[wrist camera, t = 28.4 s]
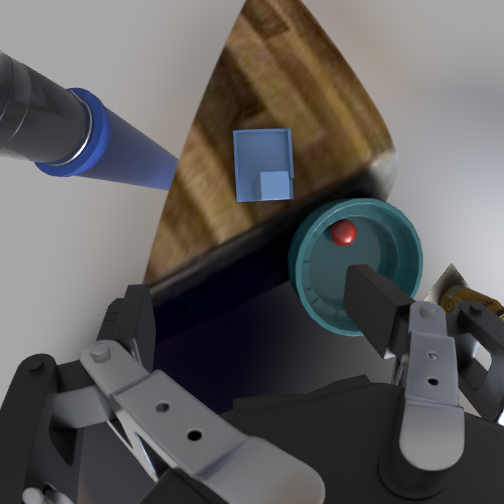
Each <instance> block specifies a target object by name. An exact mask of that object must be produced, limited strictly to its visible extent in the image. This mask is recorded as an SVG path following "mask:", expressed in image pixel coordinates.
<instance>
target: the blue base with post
mask: <svg viewBox="0 0 504 504" xmlns="http://www.w3.org/2000/svg"><path fill="white" fill-rule="evenodd" d="M233 139H234V159H235V178H236V196H237V202H246V201H265V200H288V199H294V196H293V178H294V171H293V154H292V139H291V129H252V130H233Z"/></svg>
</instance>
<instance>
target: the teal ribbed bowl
mask: <svg viewBox="0 0 504 504" xmlns="http://www.w3.org/2000/svg"><path fill="white" fill-rule="evenodd" d="M340 219H347V220H350V221H351V222H352V223H353V224H354V225H355V227H356V230H357V235H356V238H355V240H354V242H353V243H352V244H350V245H348V246H338V245H336V244H335V243H334V242H333V241H332V240H331V237H330V228H331V226H332V224H333V223H334V222H336V221H337V220H340ZM358 264H367V265H369V266H370V267H371V268H372V269H374V270H375V271H376V272H377V273H378V274H380V275H382V276H385V277H387V278H389V279H390V280H391V281H392V282H393V283H395V285H397V286H398V287H399V288H400V289H401V290H403V291H404V292H405V293H406V294H408V295H409V296H410V297H411V298H412V299H413V298H414V296H415V294H416V292H417V290H418V287H419V284H420V280H421V276H422V270H423V269H422V268H423V254H422V248H421V243H420V239H419V237H418V235H417V233H416V230H415V228H414V226H413V225H412V223H411V222H410V221H409V220H408V218H406V216H405V215H404V214H403V213H402V212H401V211H400V210H398V209H396V208H395V207H394V206H392V205H391V204H389V203H387V202H383V201H380V200H377V199H373V198H353V199H338V200H334V201H331V202H328V203H325V204H323V205H321V206H320V207H318V208H317V209H315V210H314V211H312V212H311V213H310V214H309V215H308V216H307V217H306V218H305V219H304V220H303V221H302V223H301V224H300V226H299V227H298V229H297V230H296V232H295V234H294V236H293V238H292V241H291V244H290V249H289V253H288V273H289V278H290V281H291V284H292V287H293V290H294V291H295V293H296V295H297V296H298V298H299V299H300V301H301V303H302V304H303V306H304V307H305V309H306V310H307V312H308V313H309V315H310V316H311V317H312V318H313V319H314V320H315V321H316V322H318V323H319V324H320V325H321V326H322V327H323V328H326V329H328V330H330V331H332V332H334V333H337V334H342V335H349V336H358V335H363V333H362V332H361V331H360V330H359V328H358V327H357V326H356V325H355V323H354V322H353V321H352V320H351V318H350V317H349V316H348V315H347V314H346V312H345V310H344V305H343V297H344V289H345V281H346V272H347V268H348V267H349V266H350V265H358Z"/></svg>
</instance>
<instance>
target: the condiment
mask: <svg viewBox="0 0 504 504" xmlns="http://www.w3.org/2000/svg"><path fill="white" fill-rule="evenodd" d="M423 301H428V302H432V303H435V304H437V305H439V306H440V307H441V308H443V310H444V311H445V314H458V312H459V309H460V305H461V304H462V303H463V302H466V301H473V302H478V303H480V304H483V305H484V306H486V307H487V308H488V309H490V310H491V311H492V312H493V313H495V314H496V315H497V316H498V317H499V318H501V319H502V320H503V321H504V307H503V306H502V305H501V304H500V303H499V302H498V301H497V300H495V299H492V298H490V297H488V296H485V295H483V294H481V293H478V292H476V291H474V290H471V289H470V287H469V286H468V285H467V283H466V282H465V281H464V279H463V277H462V276H461V275H460V273H459V272H458V271H457V270H456V268H455V267H454V266H453V264H452V263H451V264H450V266H449V267H448V268H447V269H446V271H445V272H444V273H443V275H442V276H441V277H440V278H439V280H438V281H437V283H436V284H435V285H434V286H433V288H432V289H431V291H430V292H429V293H428V294H427V295H426V297H425V299H424V300H423Z"/></svg>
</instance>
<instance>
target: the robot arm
mask: <svg viewBox="0 0 504 504" xmlns="http://www.w3.org/2000/svg"><path fill="white" fill-rule="evenodd" d="M69 90H70V89H69ZM70 91H71V90H70ZM71 92H72V93H73V94H74V95H73V94H72V93H70V92H69V91H67V90H66V89H64V88H63V87H61V86H59V85H58V84H56V83H54V82H53V81H51V80H49V79H48V78H46V77H45V76H43V75H41V74H40V73H38V72H36V71H35V70H33V69H31V68H30V67H28V66H26V65H25V64H23V63H21V62H19V61H18V60H16V59H14V58H12V57H11V56H9V55H8V54H6V53H4V52H2V51H1V50H0V156H3V157H9V158H15V159H22V160H28V161H33V162H38V163H44V164H47V165H51V166H64V165H67V164H69V163H71V162H73V161H75V160H76V159H77V158H78V157H79V156H80V155H81V154H82V153H83V152H84V151H85V149H86V148H87V146H88V144H89V142H90V140H91V137H92V134H93V129H94V116H93V112H92V110H91V108H90V106H89V105H88V103H87V102H86V101H84V100H83V99H81V98H80V97H78V96H77V95H76V94H75V93H74V92H73V91H71ZM343 305H344V310H345V312H346V314H347V315H348V316H349V317H350V318H351V320H352V321H353V322H354V323H355V325H356V326H357V327H358V328H359V330H360V331H361V332H362V333H363V335H364V336H365V337H366V338H367V340H368V341H369V342H370V343H371V345H372V346H373V347H374V348H375V350H376V351H377V352H378V353H379V355H380V356H381V357H382V358H383V359H387V358H391V357H394V356H396V361H395V364H394V370H393V375H392V381H391V384H387V383H371V382H370V380H369V379H368V377H367V376H366V375H365V374H364V375H360V376H356V377H352V378H348V379H344V380H340V381H336V382H333V383H331V384H329V385H327V386H325V387H323V388H320V389H318V390H316V391H313V392H311V393H309V394H304V395H282V394H278V395H277V394H267V395H260V396H253V397H245V398H238V399H233V402H234V409H233V410H231V411H228V412H226V413H223V414H221V415H219V416H218V415H217V414H216V413H214V412H213V411H212V410H210V409H209V408H208V407H206V406H205V405H204V404H202V403H201V402H200V401H198V400H197V399H196V398H195V397H193V396H192V395H191V394H190V393H188V392H187V391H186V390H184V389H183V388H182V387H181V386H180V385H178V384H177V383H176V382H175V381H173V380H172V379H171V378H170V377H169V376H167V375H166V374H165V373H164V372H163V371H161V370H158V369H157V370H155V371H153V372H152V365H153V354H154V344H155V334H156V330H155V320H154V314H153V309H152V303H151V298H150V292H149V287H148V284H137V285H128V288H127V291H126V294H125V297H124V298H117V299H116V300H114V301H113V302H112V303H111V304H110V305H109V306H108V309H107V312H106V315H105V317H104V320H103V321H104V322H103V323H102V325H101V328H100V331H99V334H98V337H97V339H96V341H95V342H92V343H90V344H88V345H87V346H85V347H84V348H83V349H82V351H81V353H80V356H79V358H80V359H79V360H77V361H73V362H69V363H65V364H61V365H57V364H56V362H55V360H54V358H53V357H52V356H50V355H48V354H35V355H32V356H30V357H28V358H26V359H25V360H23V361H22V362H21V363H20V365H19V366H18V368H17V370H16V373H15V375H14V377H13V379H12V382H11V384H10V386H9V389H8V391H7V394H6V396H5V399H4V401H3V404H2V406H1V409H0V504H77V497H78V482H79V471H80V461H81V451H82V444H83V436H84V429H85V426H89V425H93V424H97V423H101V422H105V421H107V423H108V424H109V425H110V426H111V428H112V429H113V430H114V431H115V433H116V434H117V435H118V436H119V438H120V439H121V440H122V441H123V443H124V444H125V445H126V446H127V447H128V448H129V450H130V451H131V452H132V453H133V454H134V455H135V457H136V458H137V459H138V460H139V462H140V463H141V465H142V466H143V468H144V469H145V470H146V472H147V473H148V474H149V475H150V476H151V477H152V479H153V480H154V481H155V482H156V483H155V484H154V486H153V487H152V488H151V489H150V490H149V491H148V492H147V494H146V495H145V496H144V497H143V498H142V499H141V500H140V502H139V503H138V504H504V321H503V320H502V319H501V318H499V317H498V316H497V315H496V314H495V313H493V312H492V311H491V310H490V309H488V308H487V307H486V306H484V305H483V304H480V303H478V302H473V301H466V302H463V303H462V304H461V305H460V309H459V312H458V314H445V311H444V310H443V308H441V307H440V306H439V305H437V304H435V303H432V302H428V301H417V302H416V301H415V300H413V299H412V298H411V297H410V296H409V295H408V294H406V293H405V292H404V291H403V290H401V289H400V288H399V287H398V286H397V285H395V283H393V282H392V281H391V280H390V279H389V278H387V277H385V276H382V275H380V274H378V273H377V272H376V271H375V270H374V269H372V268H371V267H370V266H369V265H367V264H358V265H350V266H349V267H348V268H347V272H346V281H345V289H344V297H343ZM480 344H481V345H482V346H483V347H484V348H485V349H486V350H487V351H488V352H489V353H490V354H491V358H492V363H491V366H490V368H489V371H487V370H486V369H485V368H484V367H483V366H482V365H481V364H480V363H479V362H478V361H477V360H476V359H475V355H476V353H477V351H478V348H479V345H480ZM458 388H459V389H460V391H461V392H462V393H463V394H464V395H465V397H466V398H467V399H468V401H469V402H470V403H471V404H472V405H473V407H474V408H475V409H476V411H477V412H478V413H479V415H481V417H482V418H481V417H478V416H475V415H472V414H469V413H467V412H464V409H463V407H461V406H460V405H459V393H458V392H459V391H458Z"/></svg>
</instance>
